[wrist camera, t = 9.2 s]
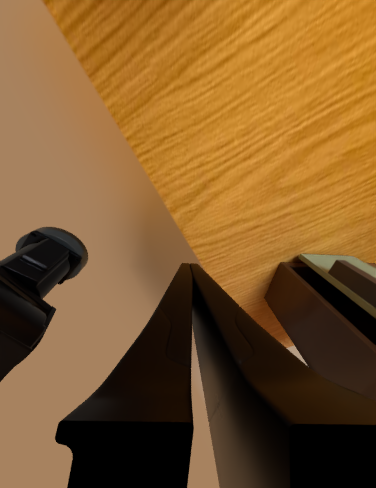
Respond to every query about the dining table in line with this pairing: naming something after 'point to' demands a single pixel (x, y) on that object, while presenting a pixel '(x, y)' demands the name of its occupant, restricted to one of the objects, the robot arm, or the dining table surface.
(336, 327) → the cupboard
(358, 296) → the sliding door
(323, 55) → the dining table surface
